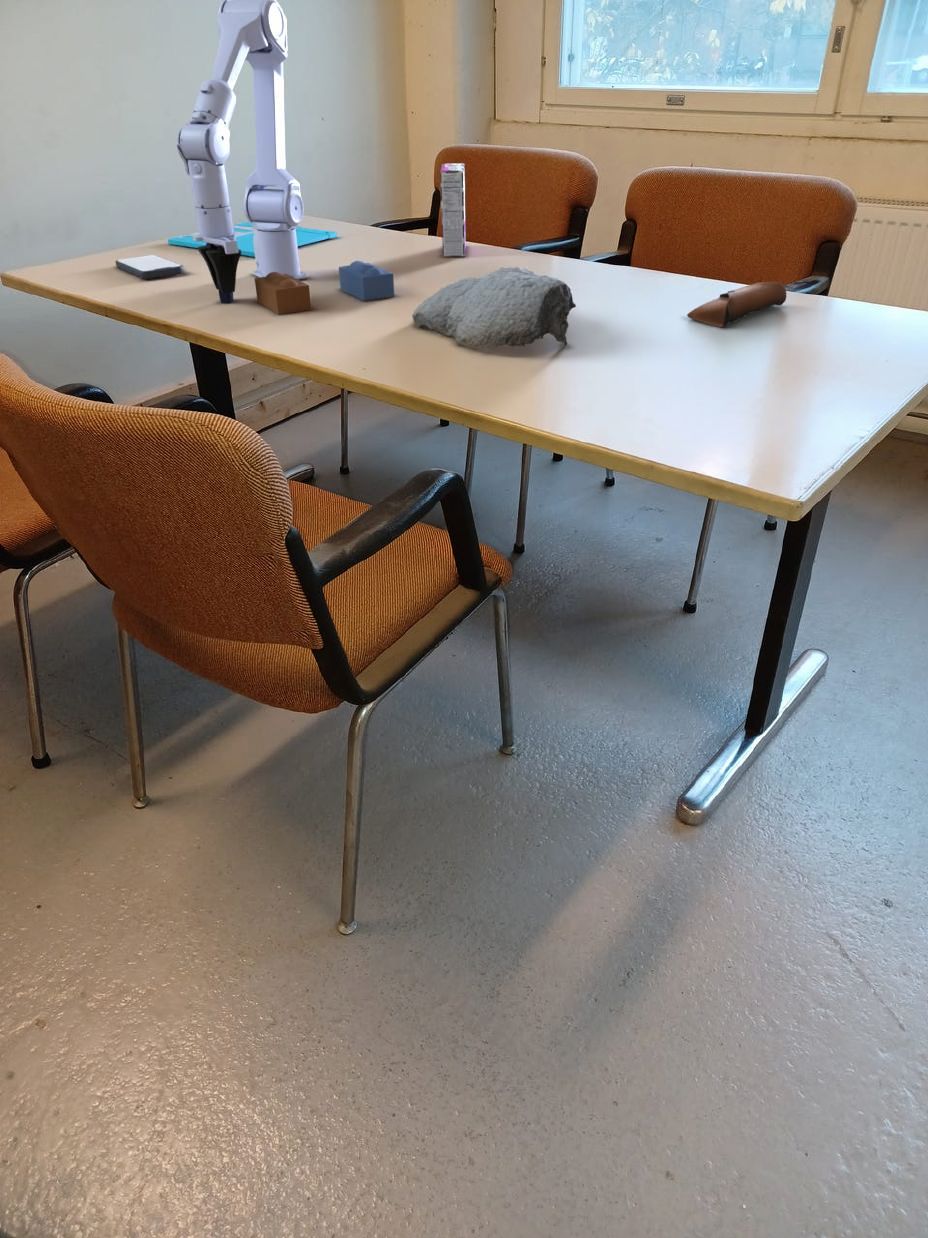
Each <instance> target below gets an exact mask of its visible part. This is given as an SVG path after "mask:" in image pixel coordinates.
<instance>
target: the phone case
mask: <svg viewBox="0 0 928 1238" xmlns="http://www.w3.org/2000/svg"><path fill="white" fill-rule="evenodd" d="M115 267H116V268H118V269H119V270H122V271H125V272H126V273H129V274H132V275H133V276H136V277H139V278H141V279H146V280H149V279H156V278H160V277H161V278H162V277H167V276H172V275H179V274H183V273H184V272H185V268H184V265H183V264H179V263H177V262H175V261H171V260H169V259H166V258H163V257H161V256H158V255H156V254H150V255H143V256H135V257H128V258H127V257H126V258H121V259H117V260H115Z"/></svg>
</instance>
